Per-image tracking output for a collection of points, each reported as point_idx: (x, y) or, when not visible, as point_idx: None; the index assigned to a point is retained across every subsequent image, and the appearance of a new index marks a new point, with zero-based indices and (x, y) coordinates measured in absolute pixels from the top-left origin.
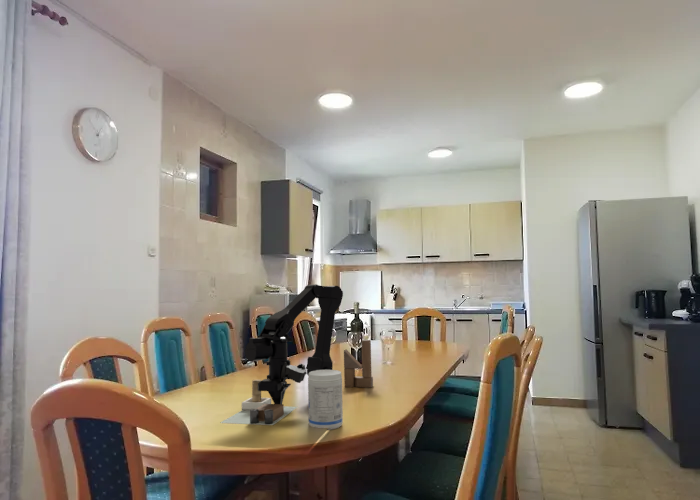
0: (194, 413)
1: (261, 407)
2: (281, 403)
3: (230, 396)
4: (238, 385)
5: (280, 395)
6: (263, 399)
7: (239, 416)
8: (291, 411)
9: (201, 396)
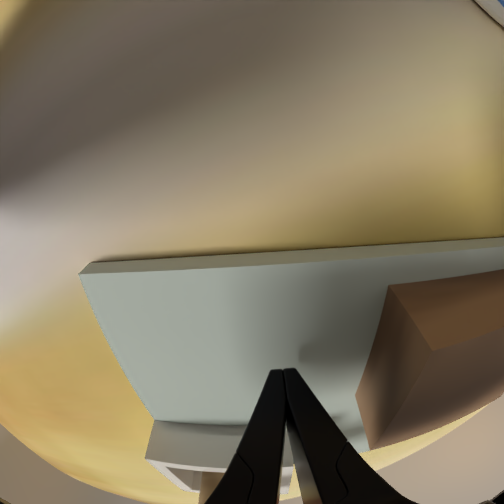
0: (299, 490)
1: (466, 408)
2: (283, 402)
3: (109, 472)
4: (42, 451)
5: (377, 475)
6: (174, 469)
7: None
8: (258, 264)
9: (147, 494)
